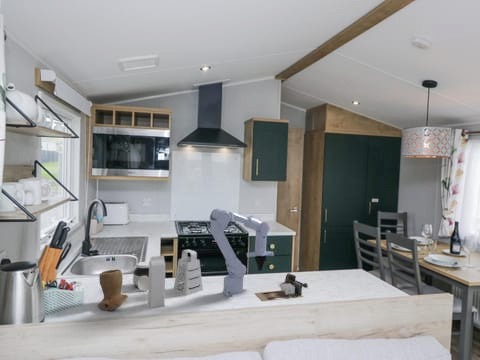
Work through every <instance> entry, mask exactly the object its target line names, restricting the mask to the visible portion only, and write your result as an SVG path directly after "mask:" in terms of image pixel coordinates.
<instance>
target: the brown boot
mask: <svg viewBox="0 0 480 360" xmlns="http://www.w3.org/2000/svg"><path fill="white" fill-rule="evenodd" d="M98 280H99V285H100V288H101V291H102V293H103V298H102V300H101V301H99V303H98V304H97V307H98V308H100V309H102V310H104V311H108V312H109V311H114V310H117V309H118V308H119V307H120V306H122V305H123V304H124V303H125V302H126V301H127V299H128V298H129V295H127V294H124V293H121V291H122V286H123V282H124V281H123V273H122V271H121V269H118V268H117V269H107V270H104V271H102V272H100V273H99V279H98Z"/></svg>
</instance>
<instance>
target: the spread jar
mask: <svg viewBox="0 0 480 360" xmlns="http://www.w3.org/2000/svg"><path fill="white" fill-rule="evenodd" d="M149 262H150V261H141V262H138V263H136V264H137V265H136V268H135V269H134V271H133V275H132V283H133V285H134V286H135V287H137V289H139V290H140V291H143V292H144V291H145V292H146V291H148V288H149Z"/></svg>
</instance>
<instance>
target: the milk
mask: <svg viewBox="0 0 480 360" xmlns="http://www.w3.org/2000/svg"><path fill="white" fill-rule="evenodd" d="M148 262H149V288H148V290H147V291H148V293H147V296H148V297H147V304H148V305H149V307H150V308H151V309H154V308H160V307H161V308H162V307H165V299H166V298H165V297H166V296H165V295H166V289H165V288H166V260H165V256H164V255H156V256H155V255H154V256H150V261H148Z"/></svg>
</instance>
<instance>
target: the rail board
mask: <svg viewBox="0 0 480 360" xmlns="http://www.w3.org/2000/svg"><path fill="white" fill-rule="evenodd" d="M297 281H298V280H296V281H293V286H294V287H295V286H296V287H297V290H295V293H294V295H286V296H285V295H284V294H282V293H281V290H273V291H263V292H254V295H255V296H256V297H257V298H258V299H259V300H260V301H261V302H267V301H277V300H286V299H287V300H288V299H298V298H304V295H303V294H302V291H303V286H302V285H301V284H300V283H298V282H299V281H298V282H297Z"/></svg>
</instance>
